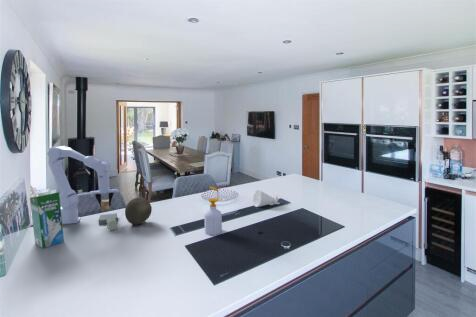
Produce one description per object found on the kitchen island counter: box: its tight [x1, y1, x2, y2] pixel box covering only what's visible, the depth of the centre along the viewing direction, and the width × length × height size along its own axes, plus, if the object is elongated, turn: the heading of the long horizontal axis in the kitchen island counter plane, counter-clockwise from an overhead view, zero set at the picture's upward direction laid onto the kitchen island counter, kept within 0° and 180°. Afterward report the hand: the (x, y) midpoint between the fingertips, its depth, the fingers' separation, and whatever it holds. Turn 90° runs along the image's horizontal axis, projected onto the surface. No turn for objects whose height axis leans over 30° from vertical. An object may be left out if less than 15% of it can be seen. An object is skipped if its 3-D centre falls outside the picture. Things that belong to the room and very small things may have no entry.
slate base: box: [97, 212, 118, 225], centre depth 159 cm, size 9×9×2 cm
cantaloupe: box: [124, 197, 153, 226], centre depth 154 cm, size 14×14×15 cm
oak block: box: [100, 199, 111, 212], centre depth 157 cm, size 4×4×5 cm
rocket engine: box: [252, 189, 281, 208], centre depth 190 cm, size 12×12×18 cm
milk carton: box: [29, 191, 65, 249], centre depth 130 cm, size 9×9×25 cm
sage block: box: [106, 218, 118, 231], centre depth 148 cm, size 4×4×5 cm
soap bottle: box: [203, 185, 223, 236], centre depth 143 cm, size 9×9×25 cm
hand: (105, 206), depth 157 cm, fingers closed on oak block, 4 cm apart
